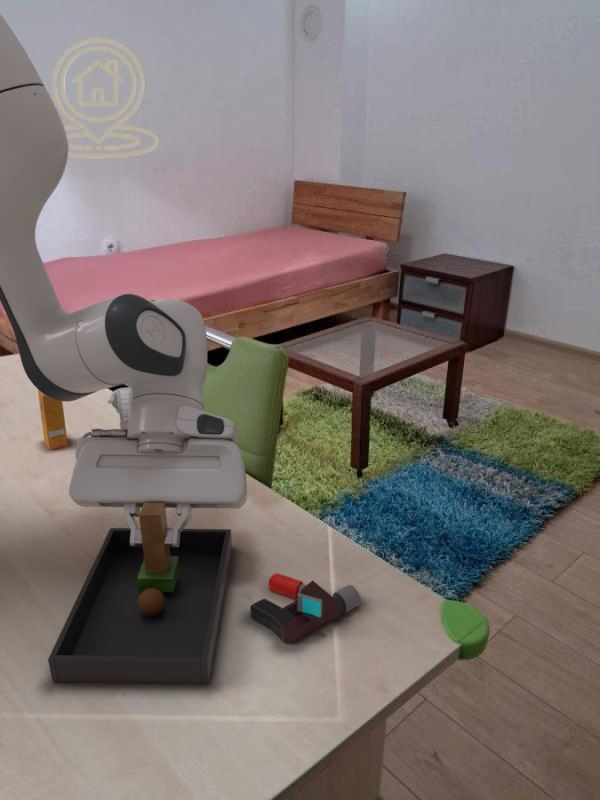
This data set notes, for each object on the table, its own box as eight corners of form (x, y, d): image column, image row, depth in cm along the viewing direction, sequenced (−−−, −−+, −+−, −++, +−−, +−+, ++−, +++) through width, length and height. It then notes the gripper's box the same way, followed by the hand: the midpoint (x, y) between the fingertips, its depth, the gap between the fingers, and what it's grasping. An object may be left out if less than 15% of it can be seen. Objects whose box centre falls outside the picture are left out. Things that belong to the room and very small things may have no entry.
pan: (53, 687, 62) (47, 659, 60) (113, 550, 81) (110, 527, 80) (208, 688, 62) (206, 661, 60) (231, 552, 81) (230, 529, 79)
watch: (147, 438, 109) (141, 379, 105) (149, 460, 102) (142, 398, 98) (113, 442, 108) (106, 382, 104) (113, 465, 101) (105, 402, 96)
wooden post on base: (138, 592, 72) (129, 519, 68) (146, 569, 76) (138, 498, 72) (173, 592, 72) (166, 519, 68) (180, 569, 76) (173, 498, 72)
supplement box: (70, 445, 107) (62, 391, 103) (49, 451, 105) (40, 396, 101) (65, 438, 109) (56, 384, 105) (44, 443, 107) (34, 389, 103)
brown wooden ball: (135, 622, 69) (132, 601, 68) (141, 603, 72) (139, 582, 70) (163, 622, 69) (160, 601, 68) (168, 603, 72) (166, 582, 70)
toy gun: (370, 607, 72) (372, 573, 70) (286, 658, 65) (286, 622, 63) (316, 564, 79) (316, 532, 77) (235, 605, 72) (233, 571, 70)
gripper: (70, 420, 73) (52, 541, 68) (246, 422, 73) (241, 543, 68) (87, 436, 79) (72, 549, 74) (250, 438, 79) (246, 551, 74)
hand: (154, 546), depth 71 cm, fingers closed on wooden post on base, 2 cm apart
